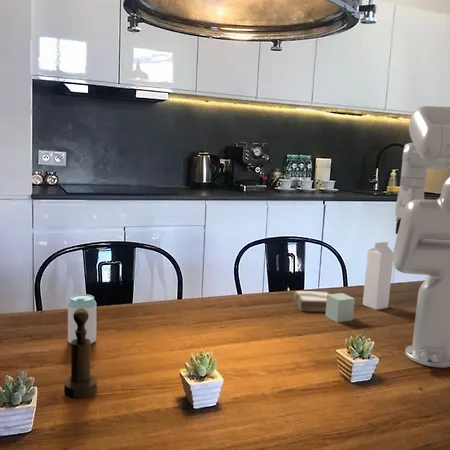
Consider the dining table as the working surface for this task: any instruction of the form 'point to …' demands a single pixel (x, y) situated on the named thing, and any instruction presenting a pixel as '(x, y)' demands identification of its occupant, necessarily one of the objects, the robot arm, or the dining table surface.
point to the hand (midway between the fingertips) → (407, 236)
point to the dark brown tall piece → (80, 362)
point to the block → (340, 307)
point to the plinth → (310, 300)
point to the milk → (378, 276)
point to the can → (90, 305)
